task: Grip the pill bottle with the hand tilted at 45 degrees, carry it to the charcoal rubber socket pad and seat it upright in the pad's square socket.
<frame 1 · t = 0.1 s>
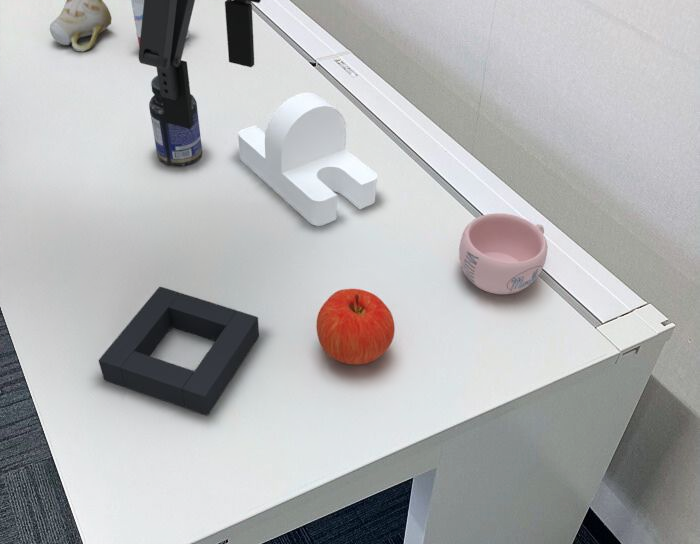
hand: (212, 92, 79), 20 cm above the table, tool pointing down, fingers open, 13 cm apart
ink box: (164, 45, 127), on the table
mug: (83, 39, 128), on the table
pill bottle: (180, 157, 106), on the table
bracket: (305, 179, 104), on the table
mug 2: (501, 274, 93), on the table
socket pad: (184, 357, 81), on the table
apple: (353, 351, 83), on the table
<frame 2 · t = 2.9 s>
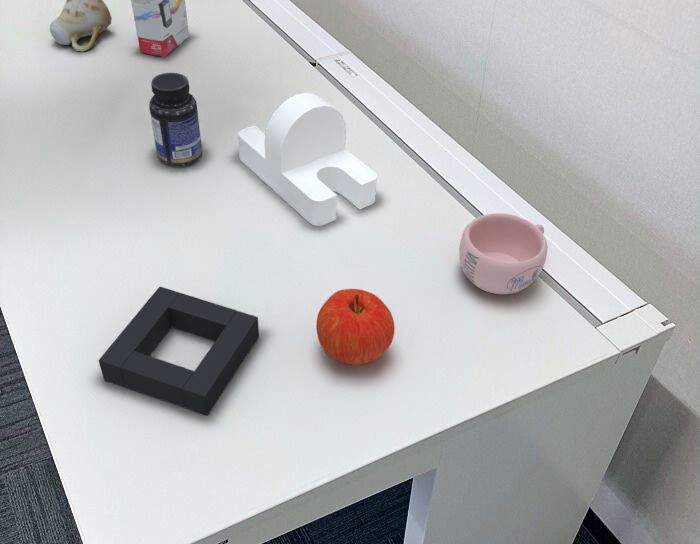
nothing on the table moved.
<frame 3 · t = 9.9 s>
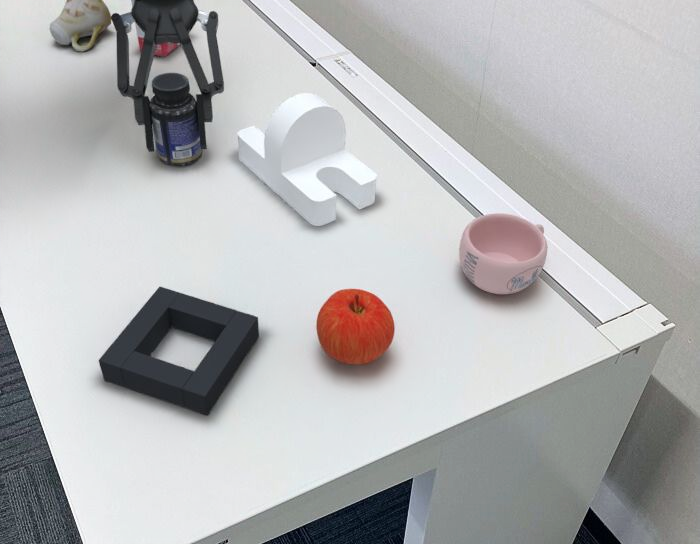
hand: (177, 148, 101), 4 cm above the table, tool tilted 45°, fingers closed on pill bottle, 6 cm apart
pill bottle: (180, 157, 106), on the table, touching gripper
everything else where it was.
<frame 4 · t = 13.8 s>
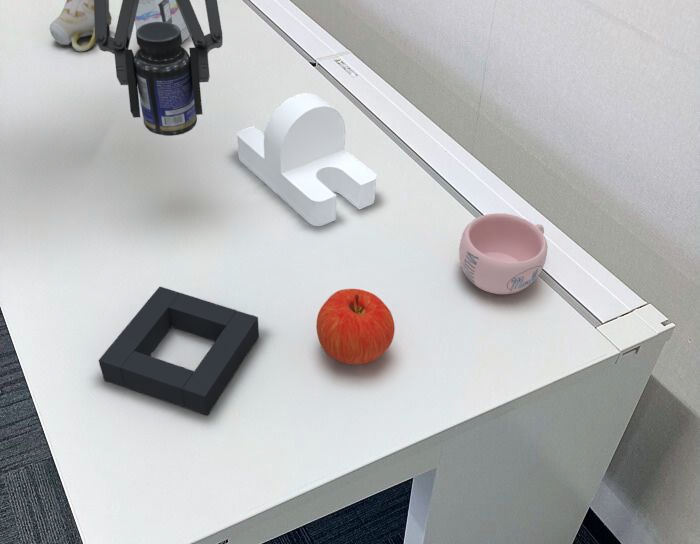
hand: (167, 112, 85), 15 cm above the table, tool tilted 45°, fingers closed on pill bottle, 6 cm apart
pill bottle: (170, 125, 90), point 12 cm above the table, touching gripper
everything else where it was.
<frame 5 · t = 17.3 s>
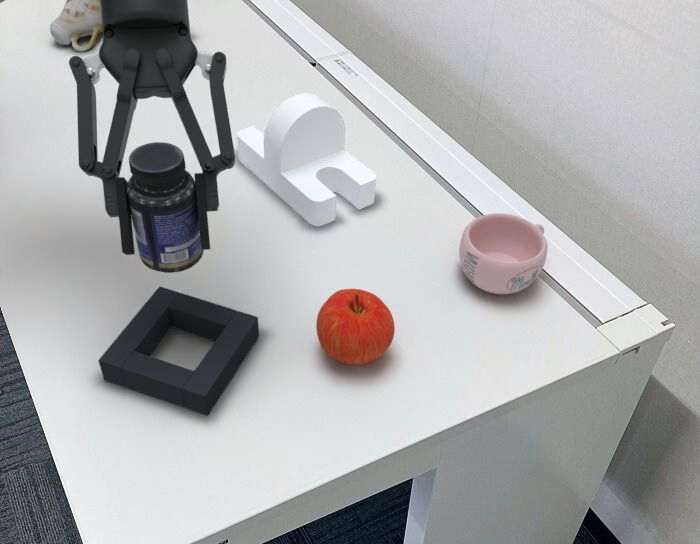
hand: (167, 250, 69), 15 cm above the table, tool tilted 45°, fingers closed on pill bottle, 6 cm apart
pill bottle: (172, 256, 74), point 11 cm above the table, touching gripper
everything else where it was.
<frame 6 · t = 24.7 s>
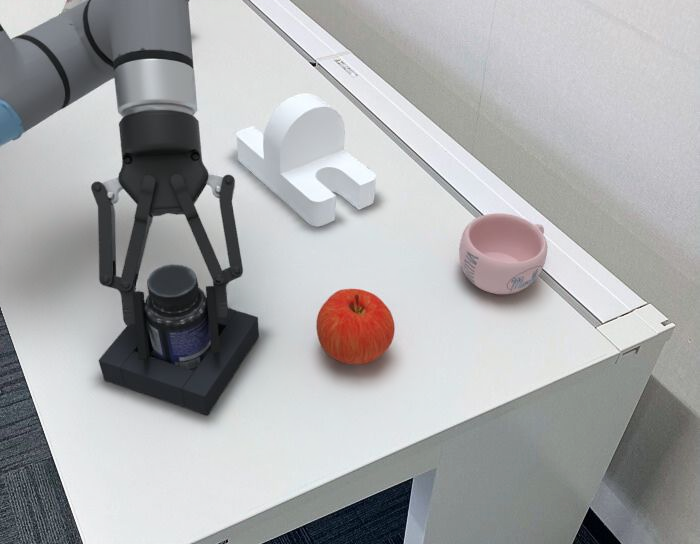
hand: (180, 355, 75), 4 cm above the table, tool tilted 45°, fingers closed on pill bottle, 6 cm apart
pill bottle: (185, 359, 81), resting in socket pad, touching gripper
everything else where it was.
when the fingers open (4 cm above the table, at t = 25.0 s): pill bottle stays where it is, resting in socket pad.
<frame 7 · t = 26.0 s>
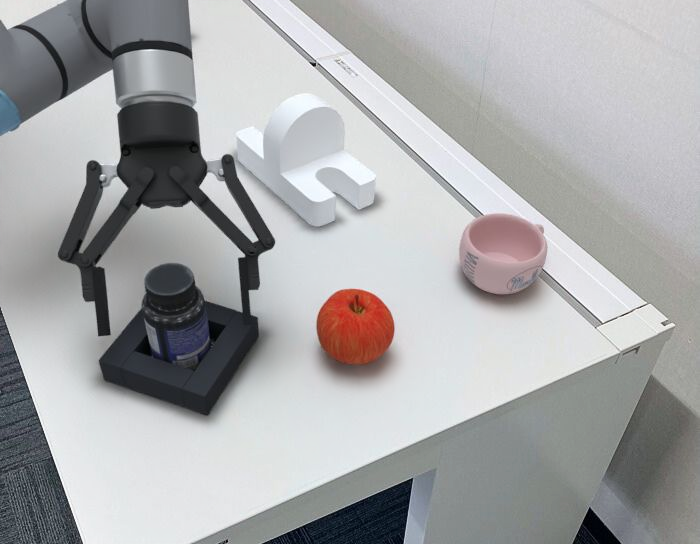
hand: (177, 330, 75), 6 cm above the table, tool tilted 45°, fingers open, 13 cm apart
pill bottle: (182, 357, 81), resting in socket pad
everything else where it was.
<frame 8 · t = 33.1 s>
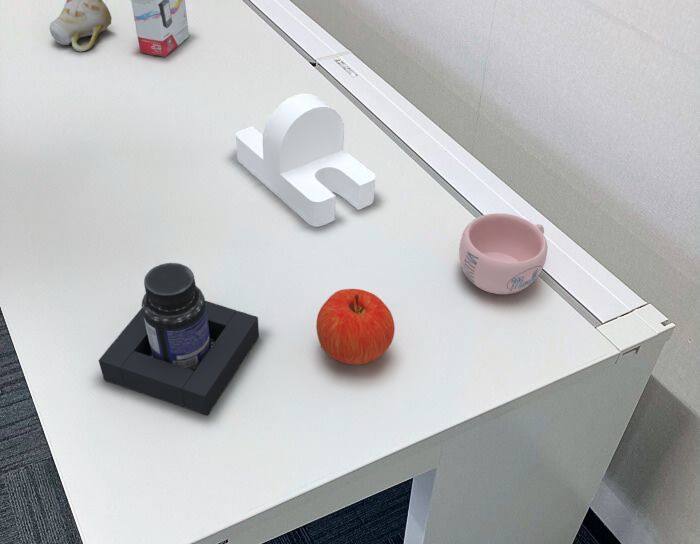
nothing on the table moved.
at the end: pill bottle 0.2 cm off-centre in the socket pad, point 0.0 cm above the socket pad's base; pill bottle tilted 0°; the gripper is holding nothing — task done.
